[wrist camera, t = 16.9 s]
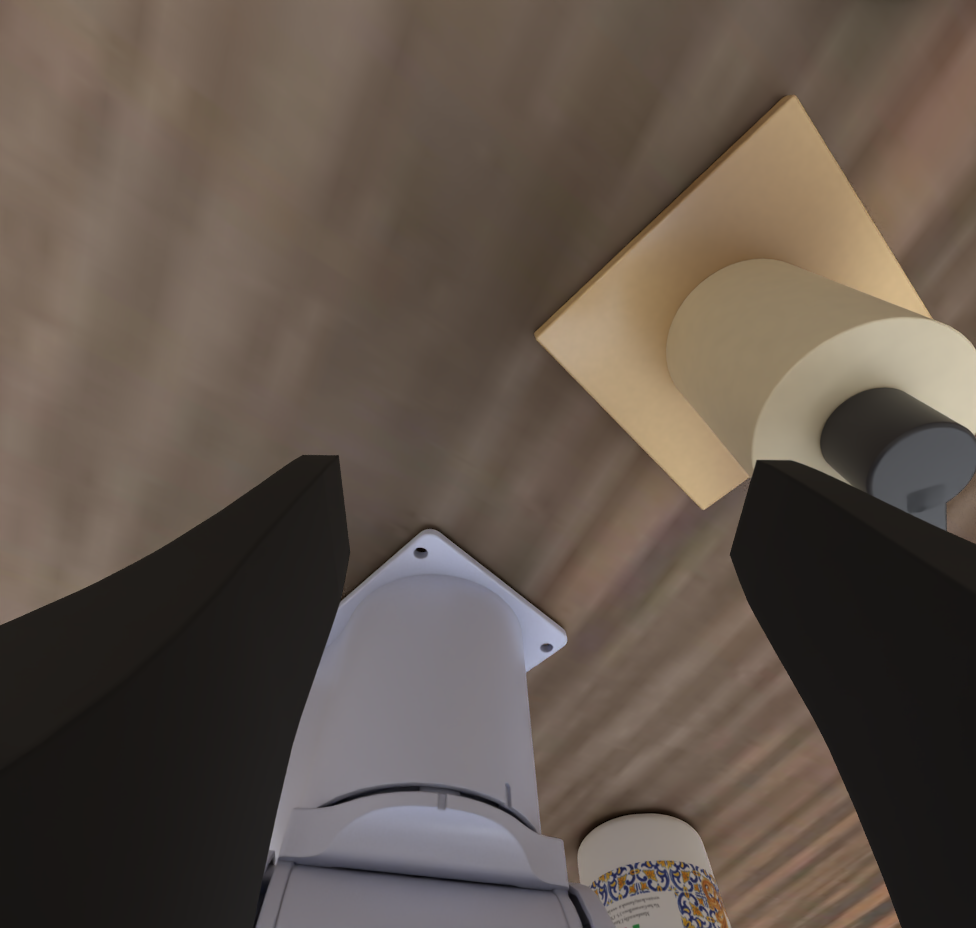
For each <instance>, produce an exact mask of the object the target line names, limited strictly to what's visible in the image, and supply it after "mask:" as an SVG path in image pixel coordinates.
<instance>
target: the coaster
mask: <svg viewBox="0 0 976 928" xmlns="http://www.w3.org/2000/svg"><path fill="white" fill-rule="evenodd" d="M751 259H774V260H779V261H783V262H786V263H789V264H791V265H794V266H796V267H799V268H801V269H804V270H807V271H809V272H812V273H814V274H817V275H820V276H822V277H825V278H827V279H830V280H833V281H835V282H838V283H840V284H843V285H845V286H848V287H851V288H853V289H856V290H858V291H861V292H864V293H866V294H869V295H871V296H874V297H877V298H879V299H882V300H884V301H887V302H889V303H892V304H895V305H897V306H900V307H902V308H905V309H908V310H910V311H913V312H915V313H918V314H921V315H923V316H926V317H928V318H931V319H932V317H931V315H930V314H929V312H928V311H927V309H926V307H925V306H924V304H923V302H922V301H921V299H920V298H919V296H918V294H917V293H916V291H915V289H914V288H913V286H912V284H911V283H910V281H909V280H908V278H907V276H906V275H905V273H904V271H903V270H902V268H901V266H900V265H899V263H898V262H897V260H896V258H895V257H894V255H893V253H892V252H891V250H890V248H889V247H888V245H887V244H886V242H885V240H884V239H883V237H882V235H881V234H880V232H879V230H878V229H877V227H876V226H875V224H874V222H873V221H872V219H871V217H870V216H869V214H868V212H867V211H866V209H865V208H864V206H863V204H862V203H861V201H860V199H859V198H858V196H857V195H856V193H855V191H854V190H853V188H852V186H851V185H850V183H849V181H848V180H847V178H846V177H845V175H844V173H843V172H842V170H841V168H840V167H839V165H838V163H837V162H836V160H835V159H834V157H833V155H832V154H831V152H830V150H829V149H828V147H827V145H826V144H825V142H824V141H823V139H822V137H821V136H820V134H819V132H818V131H817V129H816V127H815V126H814V124H813V123H812V121H811V119H810V118H809V116H808V114H807V113H806V111H805V109H804V108H803V106H802V105H801V103H800V101H799V100H798V98H797V96H796V95H788V96H784V97H783V98H782V99H781V100H780V101H779V102H778V103H777V104H776V105H775V106H774V107H772V108H771V109H770V110H769V111H768V112H767V113H766V114H765V115H764V116H763V117H762V118H761V119H760V120H759V121H758V122H757V123H756V124H754V125H753V126H752V127H751V128H750V129H749V130H748V131H747V132H746V133H745V134H744V135H743V136H742V137H741V138H740V139H739V140H738V141H736V142H735V143H734V144H733V145H732V146H731V147H730V148H729V149H728V150H727V151H726V152H725V153H724V154H723V155H722V156H721V157H720V158H719V159H717V160H716V161H715V162H714V163H713V164H712V165H711V166H710V167H709V168H708V169H707V170H706V171H705V172H704V173H703V174H702V175H701V176H699V177H698V178H697V179H696V180H695V181H694V182H693V183H692V184H691V185H690V186H689V187H688V188H687V189H686V190H685V191H684V192H683V193H682V194H680V195H679V196H678V197H677V198H676V199H675V200H674V201H673V202H672V203H671V204H670V205H669V206H668V207H667V208H666V209H665V210H664V211H662V212H661V213H660V214H659V215H658V216H657V217H656V218H655V219H654V220H653V221H652V222H651V223H650V224H649V225H648V226H647V227H646V228H645V229H643V230H642V231H641V232H640V233H639V234H638V235H637V236H636V237H635V238H634V239H633V240H632V241H631V242H630V243H629V244H628V245H627V246H625V247H624V248H623V249H622V250H621V251H620V252H619V253H618V254H617V255H616V256H615V257H614V258H613V259H612V260H611V261H610V262H609V263H608V264H606V265H605V266H604V267H603V268H602V269H601V270H600V271H599V272H598V273H597V274H596V275H595V276H594V277H593V278H592V279H591V280H590V281H588V282H587V283H586V284H585V285H584V286H583V287H582V288H581V289H580V290H579V291H578V292H577V293H576V294H575V295H574V296H573V297H572V298H570V299H569V300H568V301H567V302H566V303H565V304H564V305H563V306H562V307H561V308H560V309H559V310H558V311H557V312H556V313H555V314H554V315H553V316H551V317H550V318H549V319H548V320H547V321H546V322H545V323H544V324H543V325H542V326H541V327H540V328H539V329H538V330H537V331H536V332H535V333H534V335H535V338H536V340H537V341H538V342H539V343H540V344H541V345H542V346H543V347H544V348H545V349H546V350H547V351H548V352H549V353H550V354H551V355H552V356H553V357H554V358H555V359H556V360H557V361H558V363H559V364H560V365H561V366H562V367H563V368H564V369H565V370H566V371H567V372H568V373H569V374H570V375H571V376H572V377H573V378H574V379H575V380H576V381H577V382H578V383H579V384H580V385H581V386H582V387H583V388H584V389H585V390H586V391H587V392H588V393H589V394H590V395H591V396H592V397H593V398H594V399H595V400H596V401H597V403H598V404H599V405H600V406H601V407H602V408H603V409H604V410H605V411H606V412H607V413H608V414H609V415H610V416H611V417H612V418H613V419H614V420H615V421H616V422H617V423H618V424H619V425H620V426H621V427H622V428H623V429H624V430H625V431H626V432H627V433H628V434H629V435H630V436H631V437H632V438H633V439H634V440H635V441H636V443H637V444H638V445H639V446H640V447H641V448H642V449H643V450H644V451H645V452H646V453H647V454H648V455H649V456H650V457H651V458H652V459H653V460H654V461H655V462H656V463H657V464H658V465H659V466H660V467H661V468H662V469H663V470H664V471H665V472H666V473H667V474H668V475H669V476H670V477H671V478H672V479H673V480H674V481H675V482H676V484H677V485H678V486H679V487H680V488H681V489H682V490H683V491H684V492H685V493H686V494H687V495H688V496H689V497H690V498H691V499H692V500H693V501H694V502H695V503H696V504H697V505H698V506H699V507H700V508H701V509H702V510H705V509H706V508H708V507H709V506H710V505H712V504H713V503H715V502H716V501H717V500H719V499H720V498H722V497H723V496H724V495H726V494H727V493H729V492H730V491H731V490H733V489H734V488H735V487H737V486H738V485H740V484H741V483H742V482H744V481H745V480H747V479H748V478H749V477H750V476H749V475H748V474H747V473H746V471H745V470H744V469H743V468H742V467H741V465H740V464H739V463H738V462H737V460H736V459H735V458H734V457H733V456H732V454H731V453H730V452H729V451H728V450H727V448H726V447H725V446H724V445H723V443H722V442H721V441H720V440H719V439H718V437H717V436H716V435H715V434H714V433H713V431H712V430H711V429H710V428H709V426H708V425H707V424H706V423H705V422H704V420H703V419H702V418H701V417H700V416H699V414H698V413H697V412H696V411H695V409H694V408H693V407H692V406H691V405H690V403H689V402H688V401H687V400H686V399H685V397H684V396H683V395H682V394H681V392H680V391H679V390H678V388H677V387H676V386H675V384H674V382H673V380H672V378H671V376H670V373H669V370H668V366H667V361H666V344H667V337H668V333H669V329H670V327H671V324H672V321H673V319H674V317H675V315H676V313H677V311H678V309H679V308H680V306H681V305H682V303H683V302H684V300H685V299H686V298H687V296H688V295H689V294H690V293H691V292H692V291H693V290H694V289H695V288H696V287H697V286H698V285H699V284H700V283H701V282H703V281H704V280H705V279H706V278H708V277H709V276H711V275H712V274H714V273H715V272H717V271H719V270H721V269H723V268H725V267H727V266H729V265H732V264H735V263H738V262H741V261H746V260H751Z"/></svg>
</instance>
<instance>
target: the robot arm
mask: <svg viewBox="0 0 976 928" xmlns="http://www.w3.org/2000/svg"><path fill="white" fill-rule="evenodd" d="M417 548H424V549H426V550H427V551H425V552H418V551H416V549H417ZM349 555H350V547H349V539H348V530H347V522H346V513H345V505H344V496H343V488H342V479H341V471H340V463H339V455H302V456H300V457H299V458H297V459H295V460H293V461H292V462H290V463H289V464H287V465H286V466H284V467H283V468H282V469H280V470H279V471H277V472H276V473H274V474H273V475H272V476H270V477H269V478H267V479H266V480H265V481H263V482H262V483H260V484H259V485H258V486H256V487H255V488H253V489H252V490H250V491H249V492H247V493H246V494H245V495H243V496H242V497H240V498H239V499H237V500H236V501H234V502H233V503H232V504H230V505H229V506H227V507H226V508H224V509H223V510H221V511H220V512H218V513H217V514H215V515H214V516H212V517H210V518H209V519H207V520H206V521H204V522H202V523H201V524H199V525H198V526H196V527H194V528H193V529H191V530H190V531H188V532H187V533H185V534H183V535H182V536H180V537H179V538H177V539H175V540H174V541H172V542H171V543H169V544H167V545H166V546H164V547H162V548H160V549H159V550H157V551H155V552H154V553H152V554H150V555H148V556H146V557H144V558H143V559H141V560H139V561H137V562H135V563H134V564H132V565H130V566H128V567H126V568H124V569H122V570H120V571H118V572H116V573H114V574H112V575H110V576H108V577H106V578H104V579H102V580H101V581H99V582H97V583H94V584H92V585H90V586H88V587H86V588H84V589H82V590H80V591H77V592H75V593H73V594H71V595H68V596H66V597H64V598H62V599H59V600H57V601H55V602H53V603H50V604H48V605H46V606H43V607H41V608H39V609H37V610H34V611H32V612H30V613H28V614H25V615H23V616H21V617H19V618H16V619H14V620H12V621H10V622H7V623H5V624H2V625H0V928H616V926H615V924H614V923H613V921H612V920H611V918H610V916H609V914H608V912H607V910H606V908H605V906H604V905H603V903H602V902H601V900H600V899H599V897H598V896H597V894H596V893H595V892H594V891H593V890H592V889H591V888H589V887H588V886H585V885H582V884H580V883H572V882H568V875H567V867H566V859H565V851H564V843H563V840H561V839H560V838H555V837H549V836H546V835H542V834H541V825H540V814H539V804H538V794H537V783H536V773H535V763H534V752H533V742H532V732H531V721H530V711H529V701H528V690H527V680H526V672H527V671H529V670H530V669H532V668H533V667H535V666H536V665H538V664H539V663H541V662H542V661H543V660H545V659H546V658H548V657H549V656H551V655H552V654H554V653H555V652H556V651H558V650H559V649H561V648H562V647H564V646H565V645H566V643H567V635H566V631H565V630H564V629H563V628H562V627H560V626H559V625H558V624H557V623H555V622H554V621H553V620H551V619H550V618H549V617H548V616H546V615H545V614H544V613H542V612H541V611H540V610H539V609H537V608H536V607H535V606H534V605H532V604H531V603H530V602H528V601H527V600H526V599H525V598H523V597H522V596H521V595H519V594H518V593H517V592H516V591H514V590H513V589H512V588H510V587H509V586H508V585H507V584H505V583H504V582H503V581H502V580H500V579H499V578H498V577H496V576H495V575H494V574H493V573H491V572H490V571H489V570H487V569H486V568H485V567H484V566H482V565H481V564H480V563H478V562H477V561H476V560H475V559H473V558H472V557H471V556H470V555H468V554H467V553H466V552H464V551H463V550H462V549H461V548H459V547H458V546H457V545H455V544H454V543H453V542H452V541H450V540H449V539H448V538H446V537H445V536H444V535H443V534H441V533H440V532H438V531H437V530H434V529H426V530H423V531H422V532H420V533H419V534H418V535H417V536H415V537H414V538H413V539H412V540H411V541H410V542H409V543H407V544H406V545H405V546H404V547H403V548H402V549H400V550H399V551H398V552H397V553H396V554H395V555H394V556H392V557H391V558H390V559H389V560H388V561H387V562H385V563H384V564H383V565H382V566H381V567H380V568H379V569H377V570H376V571H375V572H374V573H373V574H372V575H371V576H369V577H368V578H367V579H366V580H365V581H364V582H362V583H361V584H360V585H359V586H358V587H357V588H356V589H354V590H353V591H352V592H351V593H350V594H349V595H347V596H346V597H345V598H344V599H343V600H342V601H341V596H342V592H343V587H344V582H345V577H346V571H347V566H348V561H349ZM730 556H731V559H732V562H733V564H734V567H735V570H736V573H737V576H738V578H739V581H740V584H741V586H742V589H743V591H744V593H745V596H746V598H747V601H748V603H749V605H750V607H751V609H752V611H753V613H754V614H755V616H756V618H757V620H758V622H759V623H760V625H761V627H762V629H763V631H764V632H765V634H766V636H767V638H768V640H769V641H770V643H771V645H772V647H773V648H774V650H775V652H776V654H777V655H778V657H779V659H780V661H781V662H782V664H783V666H784V668H785V669H786V671H787V673H788V675H789V676H790V678H791V680H792V682H793V683H794V685H795V687H796V689H797V690H798V692H799V694H800V696H801V697H802V699H803V701H804V703H805V704H806V706H807V708H808V710H809V711H810V713H811V715H812V717H813V719H814V720H815V722H816V724H817V726H818V728H819V730H820V732H821V734H822V736H823V738H824V740H825V742H826V744H827V746H828V748H829V750H830V752H831V755H832V757H833V759H834V762H835V764H836V766H837V768H838V771H839V773H840V775H841V777H842V780H843V782H844V784H845V786H846V789H847V791H848V793H849V796H850V798H851V800H852V802H853V805H854V807H855V809H856V812H857V814H858V817H859V819H860V822H861V824H862V827H863V829H864V831H865V834H866V836H867V839H868V841H869V844H870V846H871V849H872V851H873V854H874V856H875V859H876V861H877V864H878V866H879V868H880V871H881V873H882V876H883V878H884V881H885V884H886V887H887V889H888V892H889V895H890V897H891V900H892V903H893V906H894V908H895V911H896V914H897V916H898V919H899V922H900V925H901V927H902V928H976V544H974V543H972V542H970V541H967V540H965V539H963V538H961V537H958V536H956V535H954V534H952V533H949V532H947V531H945V530H943V529H941V528H939V527H936V526H934V525H932V524H930V523H928V522H926V521H924V520H922V519H919V518H917V517H915V516H913V515H911V514H909V513H907V512H905V511H903V510H901V509H899V508H897V507H894V506H892V505H890V504H888V503H886V502H884V501H882V500H880V499H878V498H876V497H874V496H872V495H870V494H868V493H866V492H864V491H862V490H859V489H857V488H855V487H853V486H851V485H849V484H847V483H845V482H843V481H841V480H839V479H837V478H834V477H832V476H830V475H828V474H826V473H823V472H821V471H819V470H817V469H814V468H812V467H809V466H807V465H804V464H801V463H798V462H795V461H792V460H756V464H755V467H754V471H753V475H752V478H751V482H750V485H749V489H748V492H747V496H746V499H745V503H744V506H743V510H742V513H741V517H740V520H739V524H738V527H737V531H736V534H735V538H734V541H733V545H732V548H731V552H730ZM340 601H341V602H340ZM545 643H549V644H548V645H542V644H545Z"/></svg>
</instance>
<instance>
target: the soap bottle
mask: <svg viewBox="0 0 976 928" xmlns="http://www.w3.org/2000/svg"><path fill="white" fill-rule="evenodd" d="M666 361H667V366H668V370H669V373H670V376H671V378H672V380H673V382H674V384H675V386H676V387H677V388H678V390H679V391H680V392H681V394H682V395H683V396H684V397H685V399H686V400H687V401H688V402H689V403H690V405H691V406H692V407H693V408H694V409H695V411H696V412H697V413H698V414H699V416H700V417H701V418H702V419H703V420H704V422H705V423H706V424H707V425H708V426H709V428H710V429H711V430H712V431H713V433H714V434H715V435H716V436H717V437H718V439H719V440H720V441H721V442H722V443H723V445H724V446H725V447H726V448H727V450H728V451H729V452H730V453H731V454H732V456H733V457H734V458H735V459H736V460H737V462H738V463H739V464H740V465H741V467H742V468H743V469H744V470H745V471H746V473H747V474H748V475H749V476H750V478H752V475H753V471H754V467H755V464H756V460H792V461H795V462H798V463H801V464H804V465H807V466H809V467H812V468H814V469H817V470H819V471H821V472H823V473H826V474H828V475H830V476H832V477H834V478H837V479H839V480H841V481H843V482H845V483H847V484H849V485H851V486H853V487H855V488H857V489H859V490H862V491H864V492H866V493H868V494H870V495H872V496H874V497H876V498H878V499H880V500H882V501H884V502H886V503H888V504H890V505H892V506H894V507H897V508H899V509H901V510H903V511H905V512H907V513H909V514H911V515H913V516H915V517H917V518H919V519H922V520H924V521H926V522H928V523H930V524H932V525H934V526H936V527H939V528H941V529H943V530H945V531H947V515H946V503H947V502H948V501H950V500H951V499H953V498H954V497H955V496H956V495H958V494H959V493H960V492H961V491H962V490H963V489H964V488H965V487H966V485H967V484H968V483H969V481H970V480H971V479H972V477H973V475H974V473H975V472H976V438H975V436H974V435H975V433H976V349H975V348H974V346H973V345H972V344H971V342H970V341H969V340H968V339H967V338H966V337H965V336H963V335H962V334H961V333H960V332H958V331H957V330H955V329H954V328H952V327H950V326H948V325H946V324H943V323H941V322H939V321H936V320H933V319H931V318H928V317H926V316H923V315H921V314H918V313H915V312H913V311H910V310H908V309H905V308H902V307H900V306H897V305H895V304H892V303H889V302H887V301H884V300H882V299H879V298H877V297H874V296H871V295H869V294H866V293H864V292H861V291H858V290H856V289H853V288H851V287H848V286H845V285H843V284H840V283H838V282H835V281H833V280H830V279H827V278H825V277H822V276H820V275H817V274H814V273H812V272H809V271H807V270H804V269H801V268H799V267H796V266H794V265H791V264H789V263H786V262H783V261H779V260H774V259H751V260H746V261H741V262H738V263H735V264H732V265H729V266H727V267H725V268H723V269H721V270H719V271H717V272H715V273H714V274H712V275H711V276H709V277H708V278H706V279H705V280H704V281H703V282H701V283H700V284H699V285H698V286H697V287H696V288H695V289H694V290H693V291H692V292H691V293H690V294H689V295H688V296H687V298H686V299H685V300H684V302H683V303H682V305H681V306H680V308H679V309H678V311H677V313H676V315H675V317H674V319H673V321H672V324H671V327H670V329H669V333H668V337H667V344H666Z"/></svg>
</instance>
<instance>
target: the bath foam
mask: <svg viewBox="0 0 976 928" xmlns="http://www.w3.org/2000/svg"><path fill="white" fill-rule="evenodd" d="M577 861H578V870H579V877H580V884H582V885H585V886H588V887H589V888H591V889H592V890H593V891H594V892H595V893H596V894H597V896H598V897H599V899H600V900H601V902H602V903H603V905H604V906H605V908H606V910H607V912H608V914H609V916H610V918H611V920H612V921H613V923H614V924H615V926H616V928H731V926H730V923H729V920H728V917H727V914H726V911H725V908H724V904H723V901H722V898H721V895H720V892H719V889H718V886H717V883H716V881H715V878H714V875H713V872H712V869H711V866H710V863H709V860H708V857H707V854H706V851H705V848H704V845H703V842H702V840H701V838H700V836H699V834H698V833H697V832H696V831H695V830H694V829H693V828H692V827H691V826H690V825H689V824H687V823H686V822H684V821H682V820H680V819H678V818H675V817H672V816H668V815H663V814H655V813H646V814H632V815H626V816H621V817H618V818H615V819H612V820H609V821H607V822H605V823H603V824H601V825H599V826H598V827H596V828H595V829H593V830H592V831H591V832H590V833H589V834H588V835H587V836H586V837H585V838H584V840H583V841H582V843H581V845H580V847H579V850H578V856H577Z"/></svg>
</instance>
